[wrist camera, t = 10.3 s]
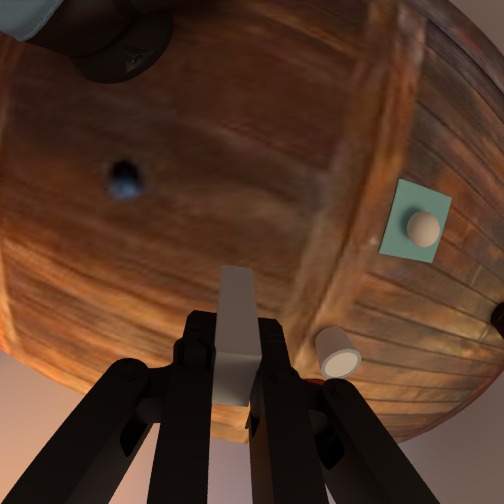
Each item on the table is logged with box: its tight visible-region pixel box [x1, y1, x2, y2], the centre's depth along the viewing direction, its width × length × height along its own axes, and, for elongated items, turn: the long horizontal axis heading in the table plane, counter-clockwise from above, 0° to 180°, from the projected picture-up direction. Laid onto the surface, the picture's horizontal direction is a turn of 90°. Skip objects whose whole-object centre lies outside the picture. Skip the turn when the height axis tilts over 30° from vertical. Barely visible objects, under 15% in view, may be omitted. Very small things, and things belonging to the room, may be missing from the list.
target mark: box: [378, 178, 452, 263], centre depth 40 cm, size 12×12×1 cm
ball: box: [407, 211, 440, 247], centre depth 37 cm, size 6×6×6 cm
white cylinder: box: [315, 326, 361, 379], centre depth 44 cm, size 7×7×7 cm
